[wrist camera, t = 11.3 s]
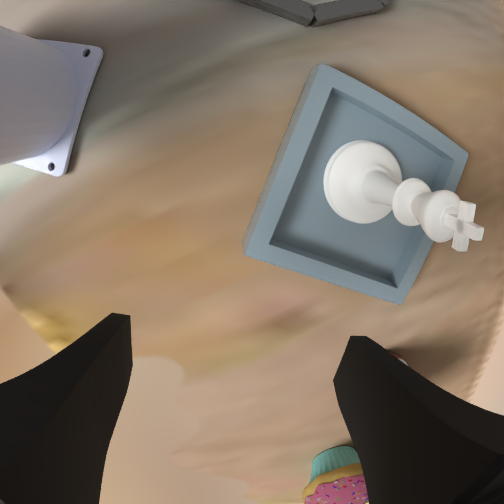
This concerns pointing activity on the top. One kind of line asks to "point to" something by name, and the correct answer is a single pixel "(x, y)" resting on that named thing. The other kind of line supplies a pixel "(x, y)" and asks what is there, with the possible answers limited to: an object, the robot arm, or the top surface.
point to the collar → (318, 9)
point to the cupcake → (336, 478)
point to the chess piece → (394, 195)
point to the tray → (314, 200)
